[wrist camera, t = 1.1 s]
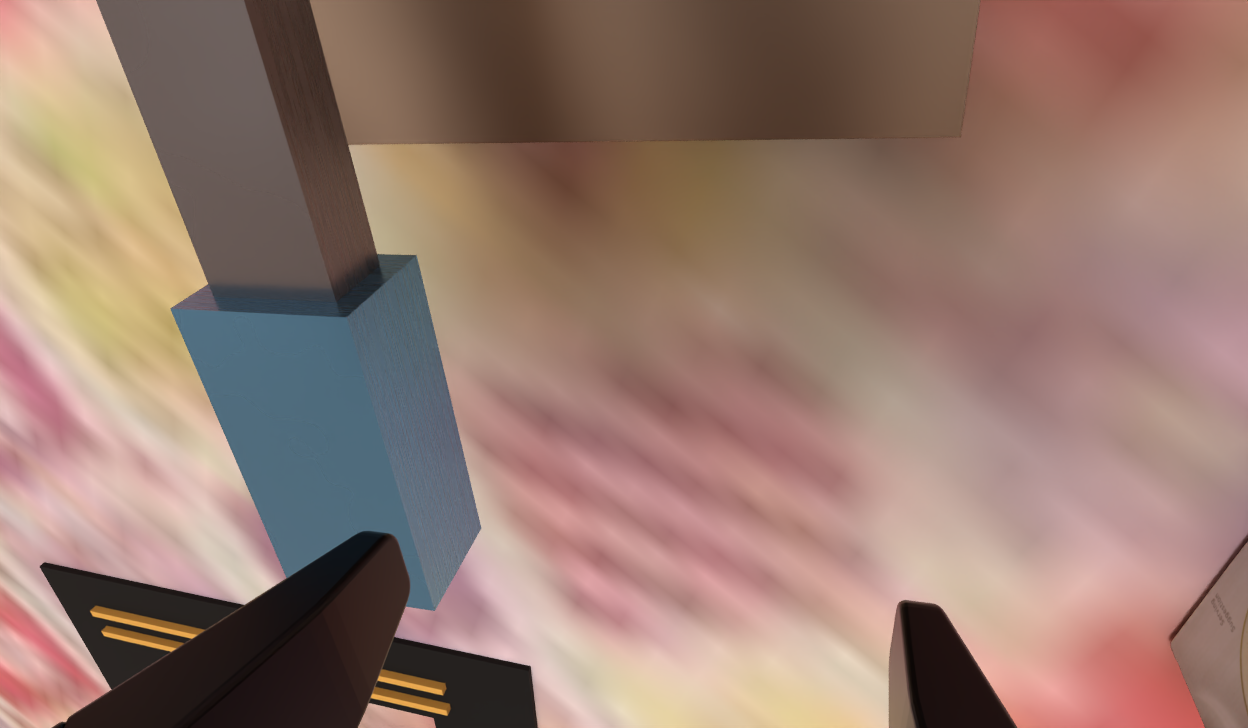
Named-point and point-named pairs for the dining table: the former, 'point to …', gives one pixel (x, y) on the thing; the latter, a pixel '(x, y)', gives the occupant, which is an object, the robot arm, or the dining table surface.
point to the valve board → (646, 69)
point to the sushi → (166, 619)
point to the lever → (297, 289)
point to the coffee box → (1219, 649)
